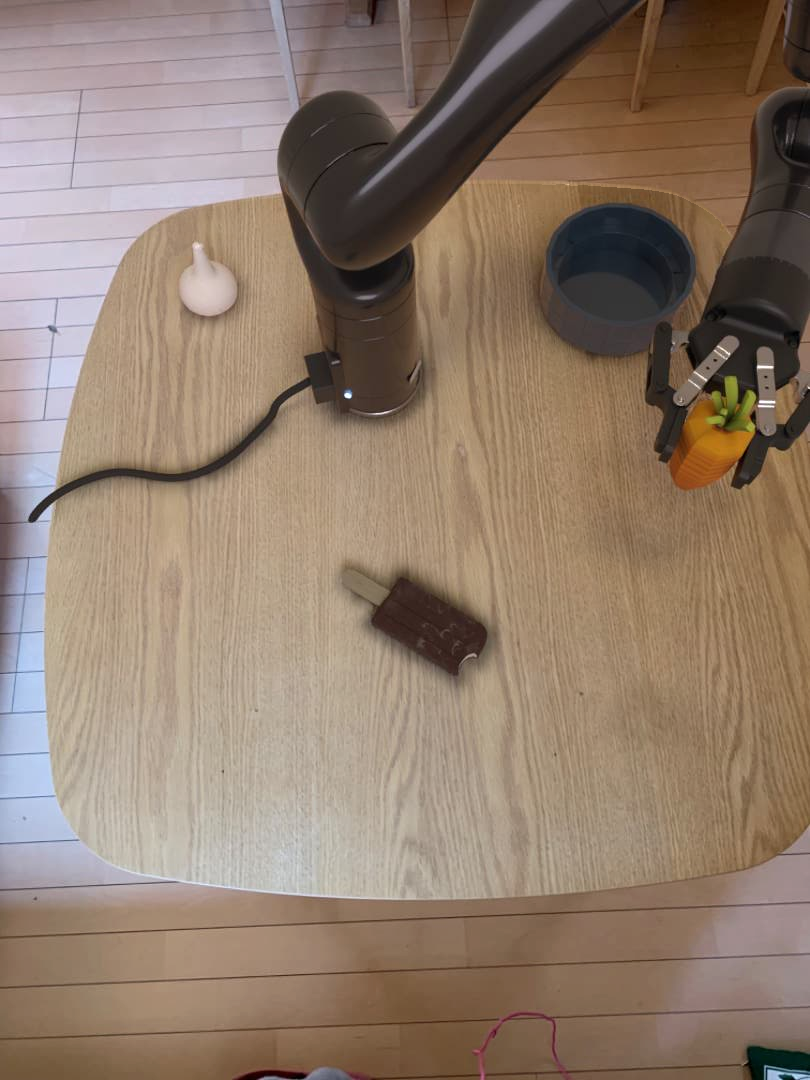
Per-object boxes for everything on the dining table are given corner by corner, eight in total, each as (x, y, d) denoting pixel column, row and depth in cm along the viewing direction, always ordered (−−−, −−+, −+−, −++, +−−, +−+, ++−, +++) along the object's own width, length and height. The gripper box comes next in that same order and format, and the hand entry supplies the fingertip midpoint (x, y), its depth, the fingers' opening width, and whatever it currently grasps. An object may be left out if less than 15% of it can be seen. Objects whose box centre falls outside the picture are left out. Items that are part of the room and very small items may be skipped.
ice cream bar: (329, 599, 82) (463, 681, 79) (327, 594, 80) (463, 678, 77) (359, 555, 83) (492, 634, 80) (358, 549, 82) (493, 630, 78)
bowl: (564, 373, 89) (573, 340, 84) (521, 258, 95) (527, 221, 89) (701, 339, 90) (719, 305, 85) (651, 227, 95) (664, 188, 90)
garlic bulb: (172, 305, 94) (149, 258, 86) (206, 265, 96) (186, 215, 88) (218, 330, 93) (199, 284, 85) (251, 289, 94) (235, 240, 87)
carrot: (708, 517, 69) (778, 434, 55) (647, 507, 70) (701, 422, 56) (713, 463, 71) (782, 368, 57) (653, 453, 71) (707, 357, 57)
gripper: (688, 227, 64) (617, 413, 59) (880, 286, 62) (822, 485, 57) (663, 288, 71) (598, 459, 66) (834, 343, 69) (780, 524, 64)
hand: (702, 470), depth 62 cm, fingers closed on carrot, 5 cm apart
